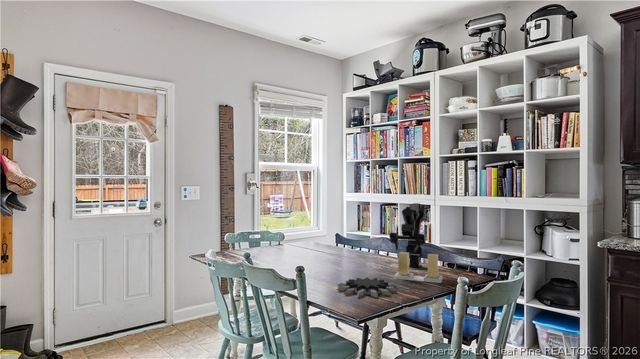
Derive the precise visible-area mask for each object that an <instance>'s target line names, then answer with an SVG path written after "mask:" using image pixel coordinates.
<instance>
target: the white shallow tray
mask: <svg viewBox="0 0 640 359" xmlns="http://www.w3.org/2000/svg"><path fill="white" fill-rule="evenodd" d="M393 279H395V280H396V279H397V280H405V281H406V280H407V281H418V282H428V283H436V284H437V283H440V284H441V283H442V281H443V275H439V274H438V279H436V278H428V273H427V274H425V275H424V276H420V275H419V276H417V275H414V273H413V272H409V276H402V275H399V271H397V272H396V273H395V274H394V278H393Z"/></svg>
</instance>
